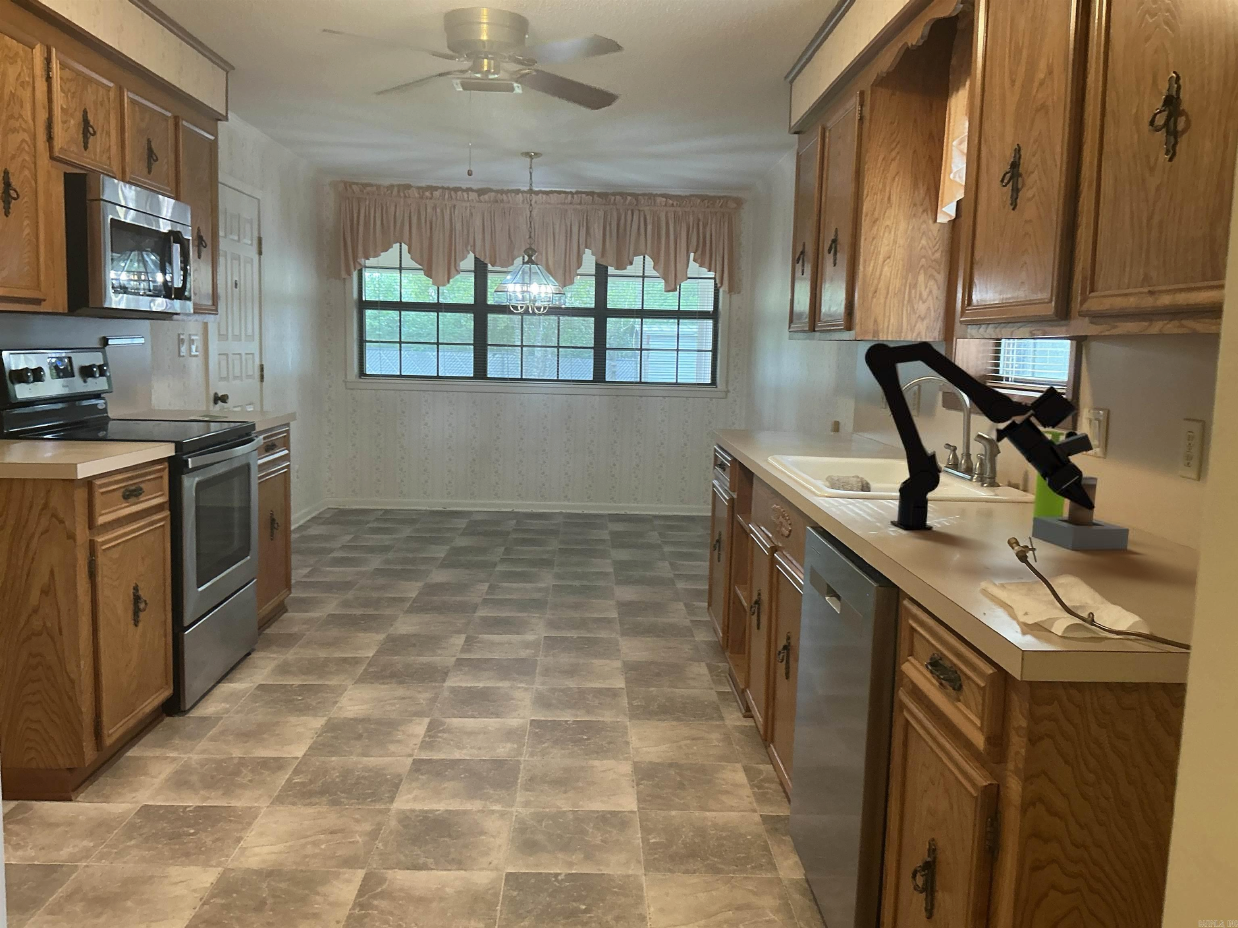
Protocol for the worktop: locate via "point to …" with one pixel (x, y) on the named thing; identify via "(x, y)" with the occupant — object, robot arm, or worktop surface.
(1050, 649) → the worktop surface
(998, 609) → the worktop surface
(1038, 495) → the soap dispenser
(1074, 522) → the peg
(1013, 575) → the worktop surface
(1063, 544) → the socket block
